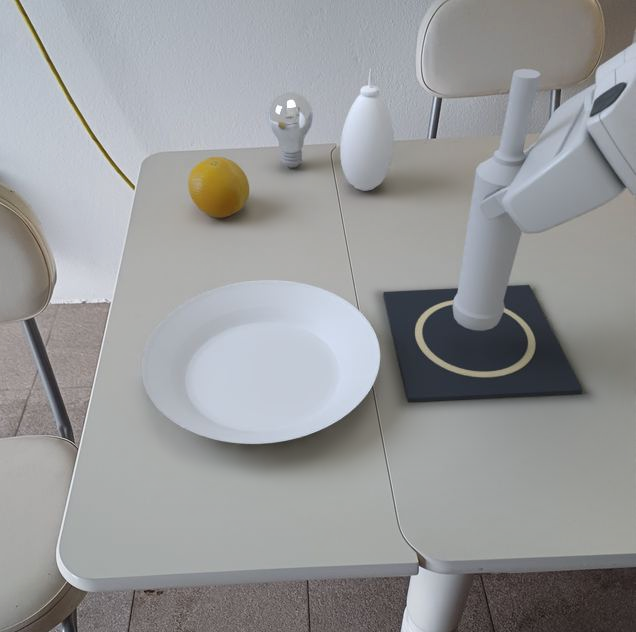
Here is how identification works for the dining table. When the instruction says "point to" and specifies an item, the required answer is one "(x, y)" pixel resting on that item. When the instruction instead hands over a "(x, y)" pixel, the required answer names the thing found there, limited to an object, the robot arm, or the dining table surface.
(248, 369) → the white plate
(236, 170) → the fruit
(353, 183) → the sauce bottle
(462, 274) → the bottle
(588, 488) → the dining table surface
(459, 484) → the dining table surface
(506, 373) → the mat
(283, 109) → the light bulb
